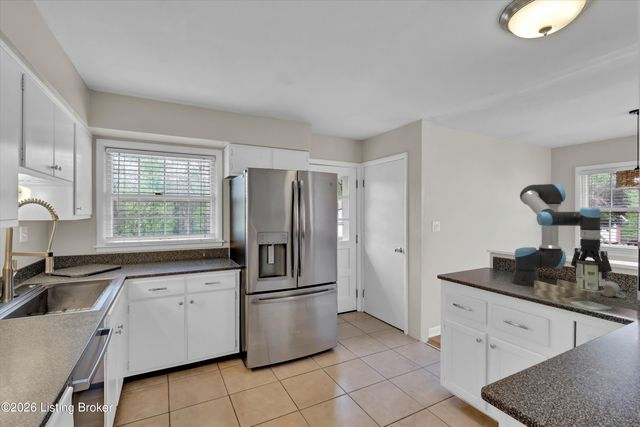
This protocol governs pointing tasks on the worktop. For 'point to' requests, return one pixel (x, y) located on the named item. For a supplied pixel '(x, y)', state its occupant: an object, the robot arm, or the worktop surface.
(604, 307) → the trivet
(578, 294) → the access box
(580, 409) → the worktop surface
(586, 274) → the coffee can
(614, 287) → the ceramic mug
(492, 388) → the worktop surface
